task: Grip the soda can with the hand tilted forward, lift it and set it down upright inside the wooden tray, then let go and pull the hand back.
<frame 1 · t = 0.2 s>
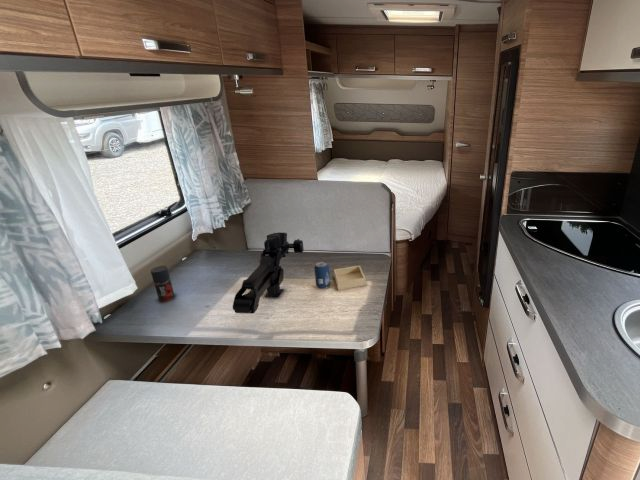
hand: (290, 239, 176), 17 cm above the table, tool horizontal, fingers open, 9 cm apart
soda can: (323, 285, 165), on the table
deodorant: (167, 298, 153), on the table
wooden tray: (349, 280, 170), on the table
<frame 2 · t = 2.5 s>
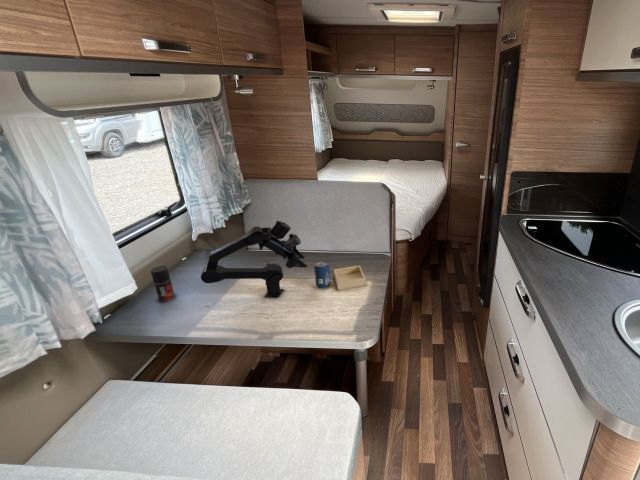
hand: (305, 262, 159), 14 cm above the table, tool tilted 45°, fingers open, 9 cm apart
nothing on the table moved.
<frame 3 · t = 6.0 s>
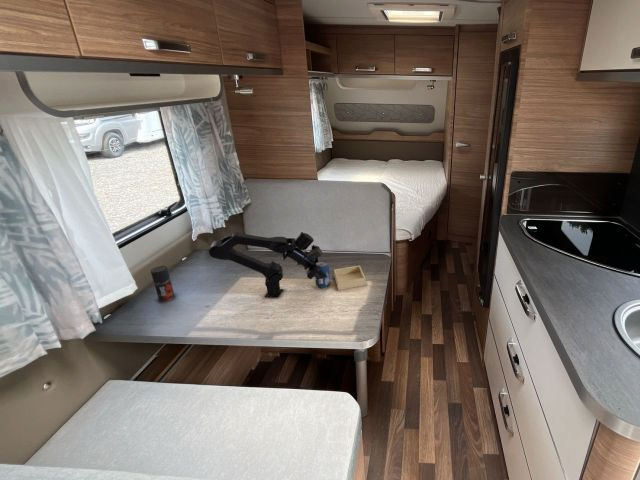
hand: (325, 273, 163), 7 cm above the table, tool tilted 45°, fingers closed on soda can, 7 cm apart
soda can: (323, 285, 165), on the table, touching gripper
everything else where it was.
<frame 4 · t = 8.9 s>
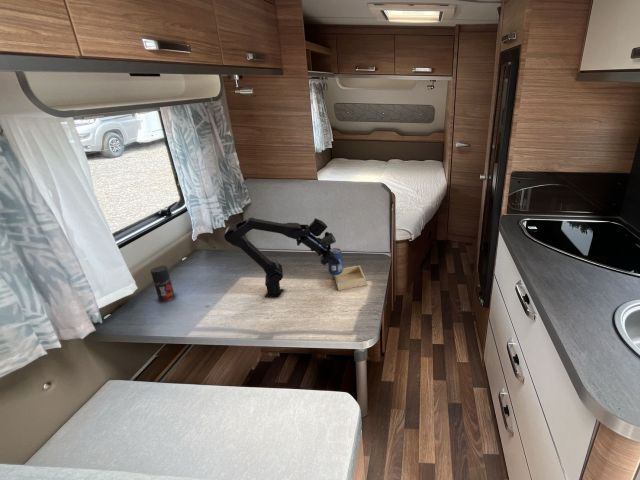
hand: (338, 260, 164), 13 cm above the table, tool tilted 45°, fingers closed on soda can, 7 cm apart
soda can: (335, 272, 166), point 6 cm above the table, touching gripper
everything else where it was.
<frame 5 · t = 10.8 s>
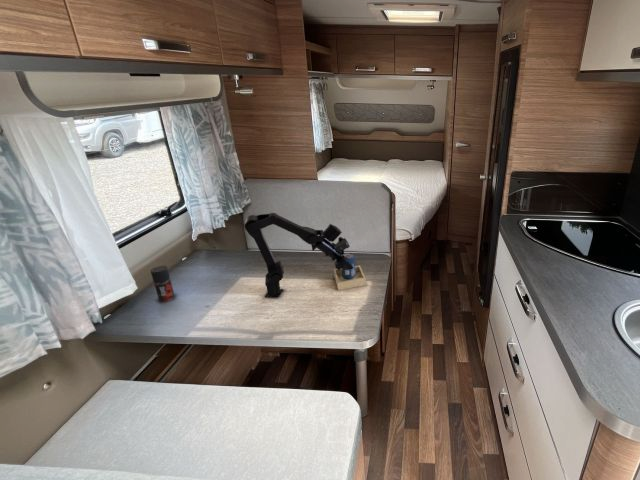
hand: (351, 264, 167), 9 cm above the table, tool tilted 45°, fingers closed on soda can, 7 cm apart
soda can: (348, 277, 169), point 2 cm above the table, touching gripper
everything else where it was.
when the fingers open (7 cm above the table, at t = 11.9 s): soda can stays where it is, resting on wooden tray.
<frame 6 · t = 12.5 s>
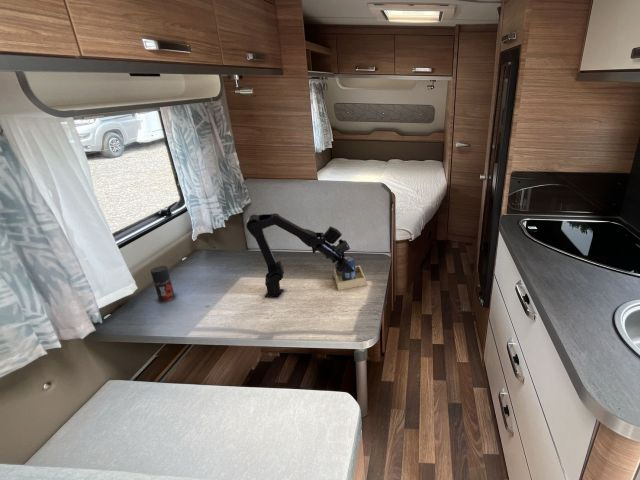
hand: (351, 266, 168), 8 cm above the table, tool tilted 45°, fingers open, 9 cm apart
soda can: (349, 280, 170), resting on wooden tray
everything else where it was.
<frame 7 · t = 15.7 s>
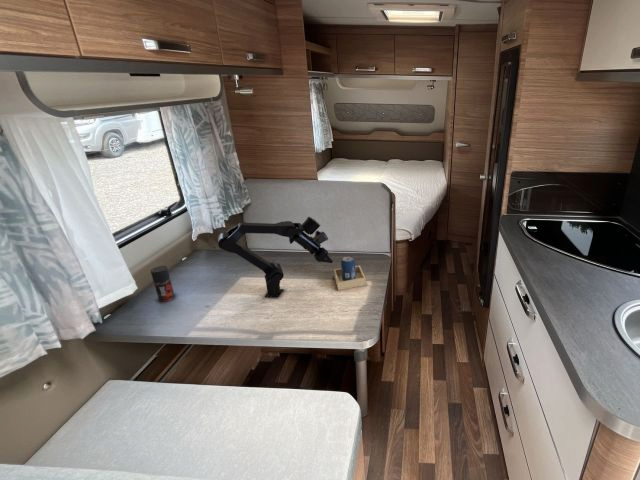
hand: (329, 258, 165), 12 cm above the table, tool tilted 40°, fingers open, 9 cm apart
nothing on the table moved.
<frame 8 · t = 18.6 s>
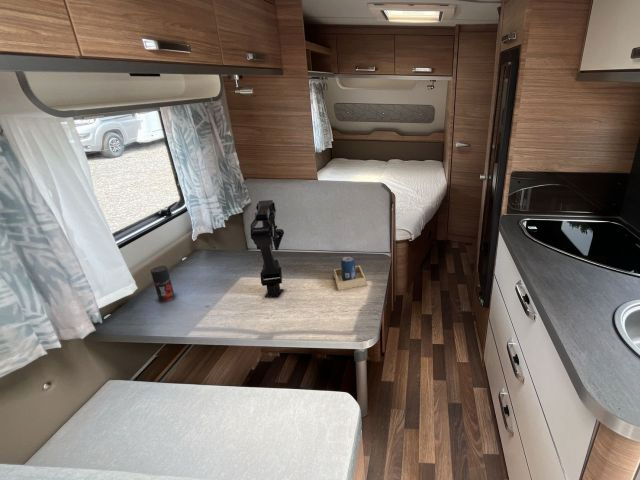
hand: (273, 254, 167), 13 cm above the table, tool pointing down, fingers open, 9 cm apart
nothing on the table moved.
at the end: soda can inside the target area in the wooden tray (0.2 cm from its centre), point 0.3 cm above the wooden tray's base; soda can tilted 0°; the gripper is holding nothing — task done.
